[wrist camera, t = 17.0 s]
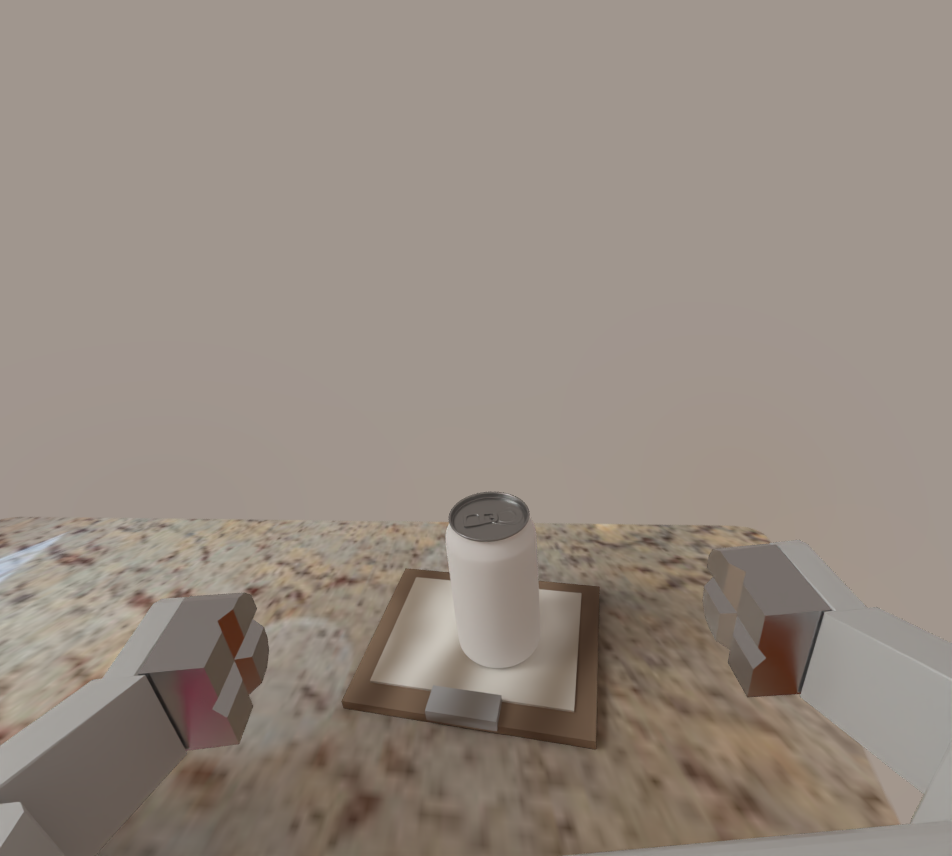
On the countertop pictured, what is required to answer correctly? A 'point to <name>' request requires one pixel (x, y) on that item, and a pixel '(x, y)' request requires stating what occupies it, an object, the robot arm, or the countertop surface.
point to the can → (494, 578)
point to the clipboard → (475, 686)
